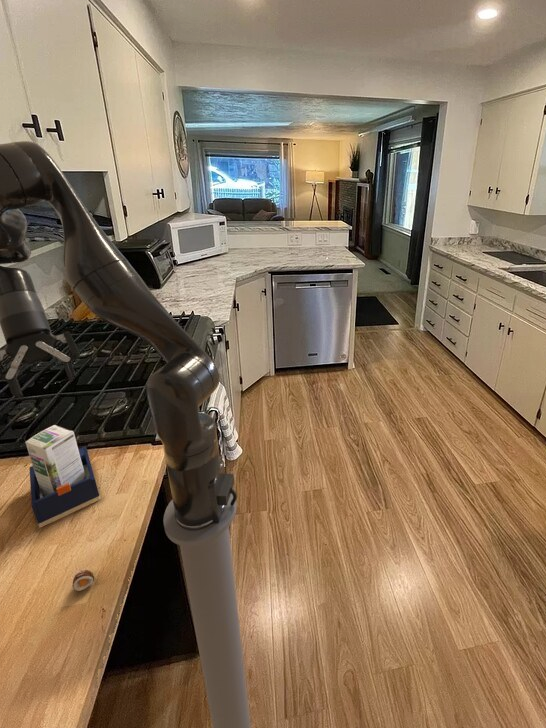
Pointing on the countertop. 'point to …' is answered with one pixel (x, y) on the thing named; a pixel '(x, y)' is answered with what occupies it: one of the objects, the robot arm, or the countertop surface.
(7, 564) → the countertop surface
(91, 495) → the navy blue pull-out drawer
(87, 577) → the chocolate
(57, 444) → the syrup box
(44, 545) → the countertop surface
